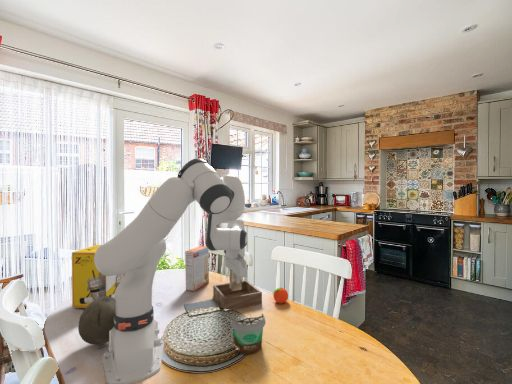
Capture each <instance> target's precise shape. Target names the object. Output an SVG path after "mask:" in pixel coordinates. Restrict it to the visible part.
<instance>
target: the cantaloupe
mask: <svg viewBox="0 0 512 384" xmlns="http://www.w3.org/2000/svg"><path fill="white" fill-rule="evenodd" d="M115 312H116V306H115V299H114V298H112V297H109V296H103V297H99V298H97V299H95V300H94V301H93V302H91V303H90V304H89V305H88V306H87V307H86V308H84V310H83V311H82V313H81V314H80V317H79V320H78V326H77V327H78V328H77V329H78V334H79V336H80V338H81V340H83V341H84V342H85V343H87V344H89V345H98V346H99V345H104V344H107V343H109V331H110V330H111V329H112V328H113V327H114V313H115Z"/></svg>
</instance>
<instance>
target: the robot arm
mask: <svg viewBox="0 0 512 384" xmlns="http://www.w3.org/2000/svg"><path fill="white" fill-rule="evenodd" d="M195 201H196V202H197V204H198V205H199V207H200V208H201V209H202V210H203V211H204V212H205V213H207V214H208V216H207V223H206V234H205V236H204V244H205V247H207V248H208V251H211V252H215V251H223V253H224V265H225V268H227V269H229V270H230V269H231V270H232V271H233V272H234V273H235V274H236V279H235V282H236V283H237V284H239V283H240V279H241V278H246V277H247V276H248V267H247V266H248V265H247V260H245V255H246V254H245V253H246V246H247V245H248V232H247V231H246V230H245V229H246V228H245V222H244V220H242V219H241V218H240V217H241V216H242V215H243V214H244V211H245V204H246V199H245V191H244V187H243V183H242V181H241V180H240V178H239V177H238V176H237V175H234V174H225V175H224V174H223V175H222V176H221V175H220V174H219V173H218V172H217V170H216V169H215V168H213V167H212V166H211V164H210V163H209V162H208V161H206V160H205V159H203V158H200V157H199V158H198V157H197V158H196V157H195V158H193V159H191V160H189V161H188V162H186V163H185V164H184V165H183V166H182V167H181V169H180V170H179V171H178V173H177V176H173V177H168V178H167V179H166V181H164V182H163V183H162V184H161V185H160V186H159V187H158V188H157V189H156V190H155V192H154V193H152V195H151V197H150V198H149V199H148V201H147V202H146V204H145V205H144V206H143V208H142V209H141V211H140V212H139V214H138V215H137V216H136V217H135V218H134V219H133V220H132V221H131V222H130V223H129V224H128V225H127V226H126V227H125V228H123V229H122V230H121V231H120V232H119V233H117V234H116V235H115V236H114V237H113V238H111V239H109V240H108V241H107V242H105V243H104V244H100V245H101V246H100V247H99V248H98V249H97V250H96V253H95V256H94V263H95V266H96V268H97V270H98V271H99V272H100V273H101V274H102V275H105V276H114V275H121V274H124V273H125V276H124V278H123V279H122V281H121V282H120V283H119V285H118V286H117V288H116V292H115V306H116V312H115V313H114V327H113V328H112V329H111V330H110V331H109V342H108V348H107V351H106V352H105V353H103V355H102V356H101V362H102V366H103V371H104V375H105V379H106V383H107V384H133V383H136V382H139V381H142V380H146V379H147V378H150V377H151V376H153V375H155V374H157V373H158V372H160V370H161V368H162V367H161V366H162V363H163V362H162V360H163V356H164V355H163V354H164V349H165V342H164V343H163V341H164V340H161V338H160V337H159V334H160V328H159V323H158V320H156V319H154V314H155V312H154V311H155V310H154V306H153V283H154V280H155V279H154V278H155V275H156V271H157V268H158V266H159V264H160V262H161V259H162V258H163V256H164V255H165V254H166V250H167V243H166V240H165V239H166V237H167V236H168V235H169V234H170V233H171V231H172V230H173V228H175V226H176V225H177V223H178V222H179V220H180V219H181V217H182V216H183V215H184V213H185V212H186V210H187V209H188V206H190V204H192V203H193V202H195ZM223 223H227V227H226V228H221V227H218V225H220V224H223Z"/></svg>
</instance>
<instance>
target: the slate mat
mask: <svg viewBox="0 0 512 384" xmlns="http://www.w3.org/2000/svg"><path fill="white" fill-rule="evenodd" d="M183 306H184V309H185V311H186V312H188V311H192V310H196V309H200V308H209V307H219V308H221V306H220V305H219V303H218V302H217V301H216V299H215V298H212V299H207V300H203V301H197V302H191V303H186V304H183Z"/></svg>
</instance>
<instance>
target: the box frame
mask: <svg viewBox="0 0 512 384" xmlns="http://www.w3.org/2000/svg"><path fill="white" fill-rule="evenodd" d="M212 288H213V289H212V290H213V291H212V292H213V293H212V294H213V299H214V300H215V302H216V303H217V304H218V306H219V307H220V308H221V309H222V308H226V309H233V310H232V311H236V310H239V309H244V308H249V307H252V306H256V305H262V304H263V293H262V292H263V291H261V290H259V288H257V287H256V286H254V285H253V284H252V283H250V282H249V281H248V280H247V279H244V280H242V290H236V291H232V290H231V289H230V288H229V282H228V283H227V282H226V283H221V284H216V285H215V284H214V285H213V286H212ZM243 292H246V294H240V295H235V296H231V297H226V296H229V295H233V294H239V293H243Z"/></svg>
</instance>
